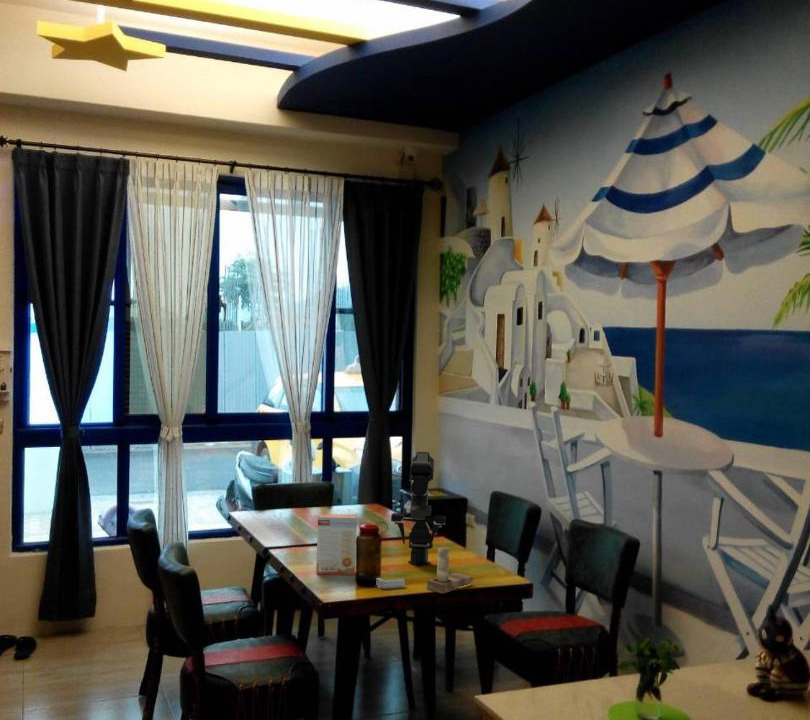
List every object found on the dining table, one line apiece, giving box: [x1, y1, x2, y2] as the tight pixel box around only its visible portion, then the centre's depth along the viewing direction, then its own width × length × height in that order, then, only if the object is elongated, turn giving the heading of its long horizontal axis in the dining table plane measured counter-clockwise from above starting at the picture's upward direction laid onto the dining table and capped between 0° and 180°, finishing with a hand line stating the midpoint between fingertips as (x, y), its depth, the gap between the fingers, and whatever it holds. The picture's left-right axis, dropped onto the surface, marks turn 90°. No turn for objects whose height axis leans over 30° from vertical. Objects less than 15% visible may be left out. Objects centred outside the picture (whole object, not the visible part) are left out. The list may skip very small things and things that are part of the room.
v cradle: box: [375, 577, 406, 590], centre depth 296 cm, size 7×12×2 cm, turn 70°
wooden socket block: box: [426, 572, 473, 594], centre depth 298 cm, size 16×7×3 cm, turn 137°
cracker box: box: [315, 513, 358, 576], centre depth 310 cm, size 14×6×21 cm, turn 92°
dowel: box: [436, 546, 451, 583], centre depth 295 cm, size 4×4×14 cm
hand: (417, 544), depth 294 cm, fingers open, 9 cm apart
